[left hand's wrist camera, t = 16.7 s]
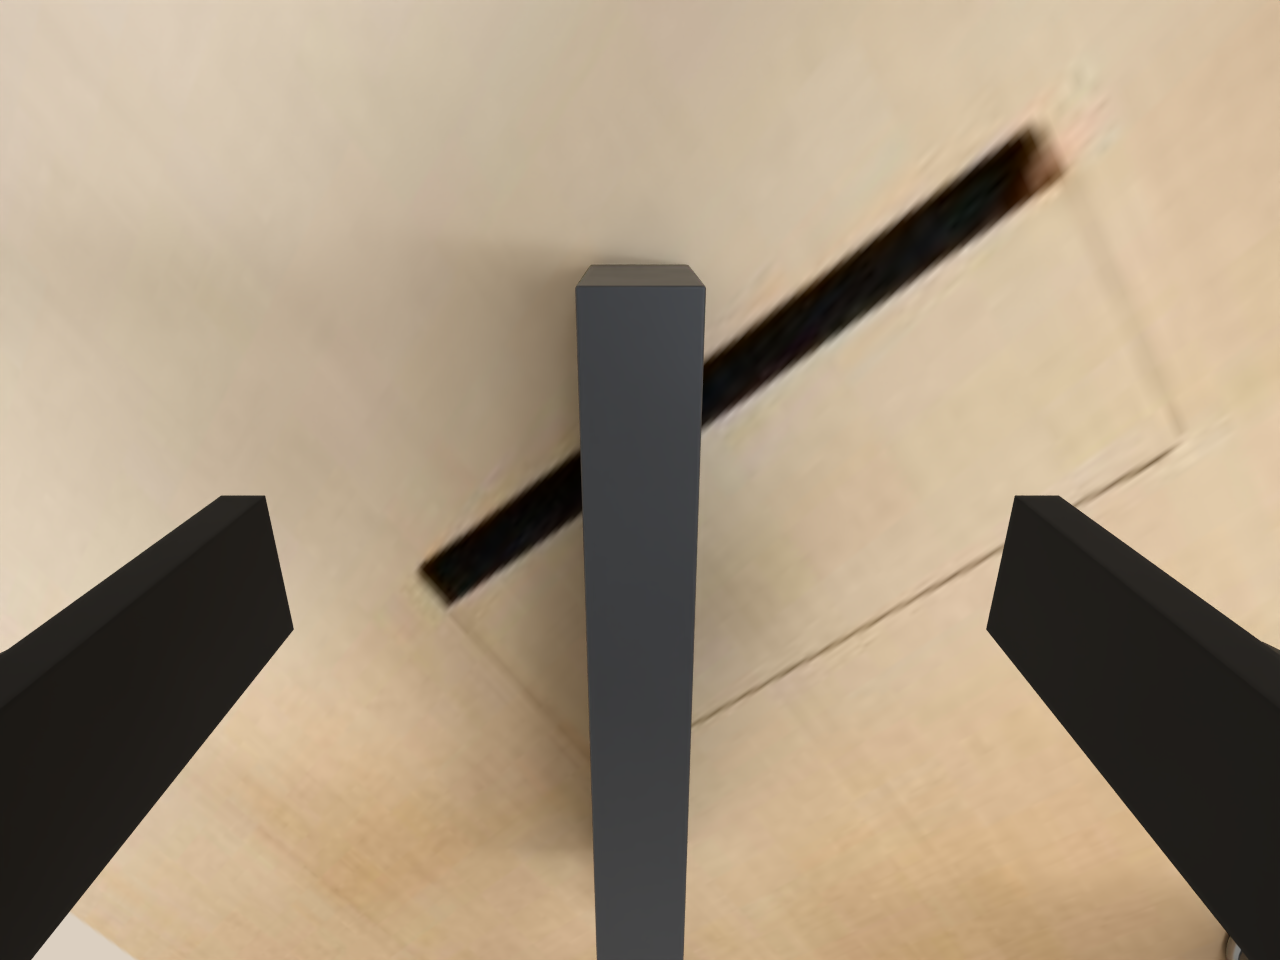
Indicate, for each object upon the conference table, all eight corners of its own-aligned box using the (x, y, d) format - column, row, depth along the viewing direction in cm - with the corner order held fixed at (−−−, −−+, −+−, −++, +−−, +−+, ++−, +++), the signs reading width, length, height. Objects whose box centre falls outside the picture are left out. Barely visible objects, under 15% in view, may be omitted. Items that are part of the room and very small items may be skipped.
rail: (589, 264, 29) (575, 285, 22) (689, 264, 29) (706, 285, 22) (604, 850, 40) (597, 986, 33) (674, 850, 40) (682, 986, 33)
